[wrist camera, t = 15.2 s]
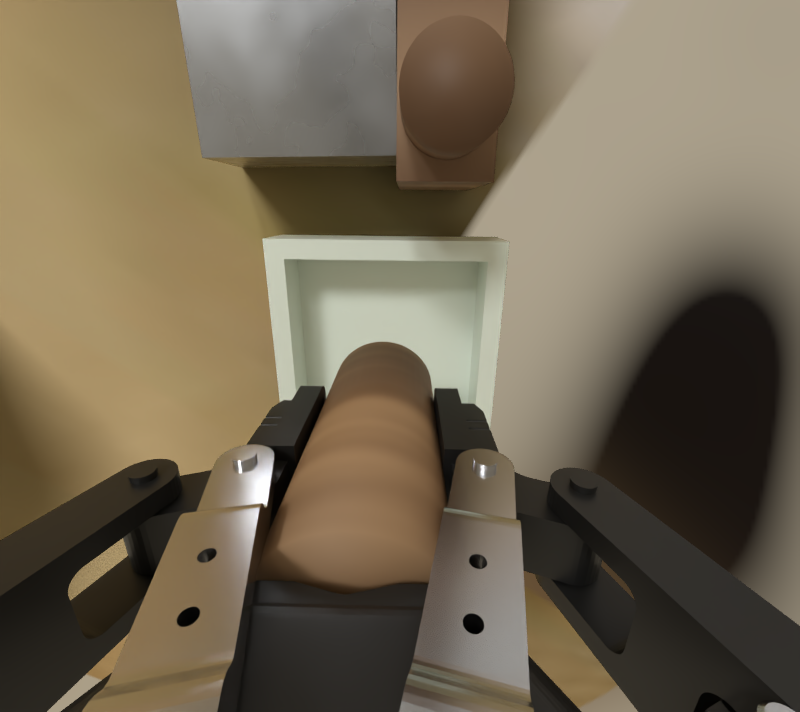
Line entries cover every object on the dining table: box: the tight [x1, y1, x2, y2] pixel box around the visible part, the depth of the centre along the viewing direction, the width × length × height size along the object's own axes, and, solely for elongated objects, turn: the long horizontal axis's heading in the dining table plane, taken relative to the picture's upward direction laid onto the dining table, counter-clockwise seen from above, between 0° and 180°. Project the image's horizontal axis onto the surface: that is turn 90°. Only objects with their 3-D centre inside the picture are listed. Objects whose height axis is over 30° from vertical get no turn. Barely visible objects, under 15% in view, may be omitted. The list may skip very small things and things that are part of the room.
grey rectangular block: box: [176, 0, 397, 167], centre depth 14 cm, size 10×7×4 cm
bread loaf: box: [256, 342, 448, 595], centre depth 11 cm, size 4×4×9 cm
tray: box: [263, 235, 510, 428], centre depth 19 cm, size 10×10×3 cm
